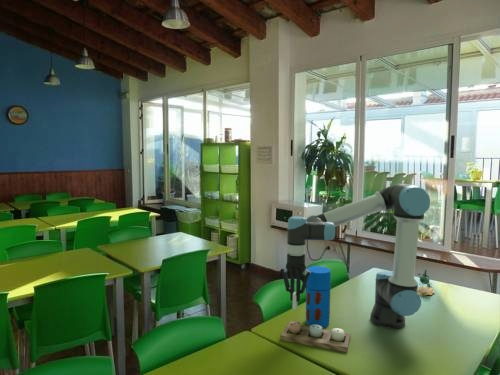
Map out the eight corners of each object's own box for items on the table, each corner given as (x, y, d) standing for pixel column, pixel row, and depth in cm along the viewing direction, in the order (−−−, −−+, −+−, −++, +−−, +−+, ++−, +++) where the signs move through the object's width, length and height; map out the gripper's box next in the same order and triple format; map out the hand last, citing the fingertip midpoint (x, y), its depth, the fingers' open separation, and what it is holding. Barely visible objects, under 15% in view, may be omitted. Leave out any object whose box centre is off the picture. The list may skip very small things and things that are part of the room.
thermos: (329, 329, 164) (330, 274, 162) (305, 326, 167) (306, 272, 164) (329, 318, 175) (330, 266, 173) (306, 316, 177) (307, 265, 175)
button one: (344, 336, 154) (344, 328, 153) (343, 341, 149) (343, 334, 149) (332, 334, 155) (332, 326, 155) (330, 339, 151) (330, 332, 150)
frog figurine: (442, 292, 210) (442, 267, 207) (422, 302, 201) (422, 276, 198) (427, 287, 218) (427, 263, 215) (407, 296, 209) (407, 271, 207)
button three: (301, 328, 160) (301, 321, 160) (299, 334, 155) (299, 326, 155) (290, 326, 162) (290, 319, 161) (287, 331, 157) (287, 324, 157)
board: (350, 338, 156) (350, 333, 156) (347, 352, 145) (347, 347, 145) (288, 327, 166) (288, 323, 166) (280, 339, 155) (280, 335, 154)
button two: (322, 332, 157) (323, 325, 156) (320, 337, 152) (320, 330, 152) (311, 330, 159) (311, 323, 158) (308, 335, 154) (308, 328, 154)
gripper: (313, 253, 157) (311, 307, 159) (283, 249, 161) (282, 302, 163) (309, 257, 150) (308, 314, 152) (278, 254, 154) (277, 309, 156)
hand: (294, 308), depth 158 cm, fingers closed
